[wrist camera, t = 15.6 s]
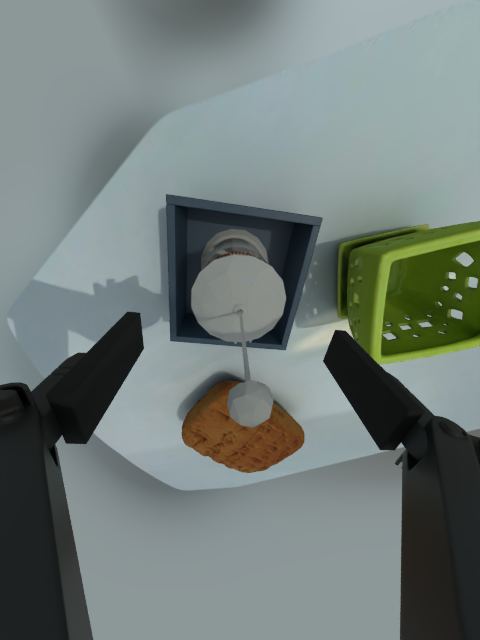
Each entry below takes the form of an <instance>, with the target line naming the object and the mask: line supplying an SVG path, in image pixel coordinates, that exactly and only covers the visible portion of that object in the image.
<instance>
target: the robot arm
mask: <svg viewBox="0 0 480 640" xmlns="http://www.w3.org/2000/svg"><path fill="white" fill-rule="evenodd" d="M143 349H144V345H143V336H142V326H141V316H140V313H136V312H127V313H126V314H125V315H124V316H123V317H122V318H121V319H120V320H119V321H118V322H117V323H116V324H115V325H114V326H113V327H112V328H111V329H110V330H109V331H108V332H107V333H106V334H105V335H104V336H103V337H102V338H101V339H100V340H99V341H98V342H97V343H96V344H95V345H94V346H93V347H92V348H91V349H90V350H89V351H88V352H87V353H77V354H75V355H73V356H71V357H69V358H68V359H66V360H65V361H64V362H63V363H62V364H61V365H60V366H59V367H58V368H56V369H55V370H54V371H53V372H52V373H51V375H49V376H48V377H47V378H46V379H45V380H43V381H42V382H41V383H40V384H39V385H38V386H37V387H36V388H35V389H34V390H33V391H32V392H31V391H30V389H29V387H28V386H27V385H26V384H23V383H8V384H4V385H0V640H93V637H92V631H91V627H90V620H89V615H88V610H87V605H86V600H85V594H84V589H83V584H82V578H81V573H80V568H79V562H78V557H77V552H76V547H75V541H74V536H73V530H72V525H71V520H70V515H69V509H68V504H67V499H66V493H65V488H64V484H63V478H62V473H61V467H60V462H59V456H58V451H57V447H56V445H55V443H56V442H57V441H58V440H59V438H60V437H61V435H63V437H64V440H65V442H66V443H68V444H69V443H70V444H86V443H87V442H88V440H89V439H90V437H91V435H92V434H93V432H94V430H95V429H96V427H97V425H98V424H99V422H100V420H101V419H102V417H103V415H104V414H105V412H106V410H107V409H108V407H109V405H110V404H111V402H112V400H113V399H114V397H115V395H116V394H117V392H118V390H119V389H120V387H121V385H122V384H123V382H124V381H125V379H126V377H127V376H128V374H129V372H130V371H131V369H132V367H133V366H134V364H135V362H136V361H137V359H138V357H139V356H140V354H141V352H142V351H143ZM323 362H324V363H325V365H326V366H327V368H328V370H329V371H330V373H331V374H332V376H333V377H334V379H335V380H336V382H337V384H338V385H339V387H340V388H341V390H342V391H343V393H344V394H345V396H346V398H347V399H348V401H349V402H350V404H351V405H352V407H353V409H354V410H355V412H356V413H357V415H358V416H359V418H360V419H361V421H362V423H363V424H364V426H365V427H366V429H367V430H368V432H369V433H370V435H371V437H372V438H373V440H374V441H375V443H376V444H377V446H378V447H379V449H380V450H395V449H396V448H397V447H398V445H399V444H400V443H402V444H403V445H404V447H405V448H406V450H405V451H404V452H403V453H402V454H401V456H400V457H399V458H398V459H397V460H396V462H395V464H396V465H399V463H400V462H403V466H402V540H401V542H402V545H401V612H400V615H401V616H400V640H480V438H479V437H475V436H472V435H469V434H467V432H466V431H465V430H464V429H463V428H461V427H460V426H459V425H457V424H456V423H454V422H452V421H450V420H449V419H446V418H444V417H440V416H434V415H433V414H432V413H431V412H430V411H429V410H428V409H427V408H426V407H425V406H424V405H423V404H422V403H421V402H420V401H419V400H418V399H417V398H416V397H415V396H414V395H413V394H411V392H410V391H409V390H408V389H407V388H405V386H404V385H403V384H402V383H401V382H400V381H399V380H398V379H397V378H395V377H394V376H392V375H391V374H389V373H388V372H386V371H385V370H384V369H383V368H382V367H381V366H380V365H379V364H378V363H377V362H376V361H375V360H374V359H373V358H372V357H371V356H370V355H369V354H368V353H367V352H366V351H365V350H364V349H363V348H362V347H361V346H360V345H359V344H358V343H357V342H356V341H355V340H354V339H353V338H352V337H351V336H350V335H349V334H348V333H347V332H346V331H341V330H335V332H334V335H333V337H332V340H331V342H330V345H329V347H328V350H327V352H326V355H325V357H324V360H323Z"/></svg>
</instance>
